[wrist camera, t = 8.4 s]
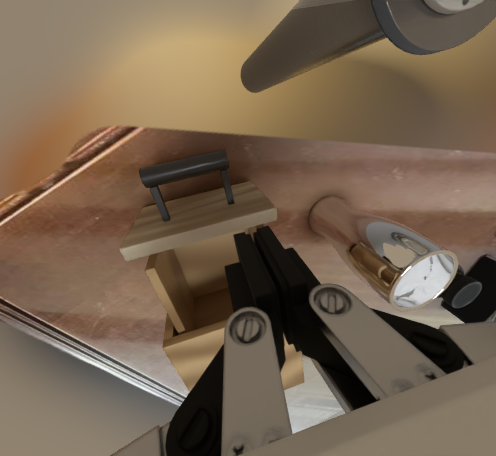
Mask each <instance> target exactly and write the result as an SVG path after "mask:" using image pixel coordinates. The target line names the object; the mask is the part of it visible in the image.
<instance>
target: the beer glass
mask: <svg viewBox="0 0 496 456" xmlns="http://www.w3.org/2000/svg"><path fill="white" fill-rule="evenodd" d="M309 225H310V228H311V229H312V230H313V231H314V232H315V233H317V234H318V235H320V236H322V237H324V238H326V239H327V240H328V241H329V242H330V243H331V244H332V245H333V247H334V248H335V250H336V251H337V252H338V254H339V255H340V257H341V258H342V259H343V261H344V262H345V263H346V265H347V266H348V267H349V268H350V270H351V271H352V272H353V273H354V274H355V275H356V276H357V277H358V278H359V279H360V280H361V281H362V282H364V283H365V284H366V285H367V286H368V287H369V288H370V289H372V290H373V291H374V292H375V293H377V294H378V295H379V296H380V297H382V298H383V299H384V300H386V301H387V302H388V303H389V304H390V305H392V306H393V307H394V308H395V309H396V310H399V311H411V310H415V309H418V308H421V307H423V306H425V305H427V304H428V303H430V302H431V301H433V300H434V299H435V298H437V297H438V296H439V295H440V294H441V293H442V292H443V291H444V290H445V289H446V288H447V287H448V286H449V284H450V283H451V282H452V280H453V278H454V277H455V275H456V272H457V269H458V258H457V256H456V255H455V254H454V253H453V252H451V251H449V250H447V249H445V248H443V247H442V246H440V245H438V244H437V243H435V242H434V241H432V240H430V239H429V238H427V237H425V236H423V235H422V234H420V233H418V232H416V231H414V230H412V229H410V228H409V227H406V226H404V225H402V224H400V223H397V222H395V221H392V220H389V219H386V218H383V217H380V216H376V215H373V214H369V213H365V212H362V211H358V210H356V209H354V208H352V207H351V206H349V205H348V204H347V203H346V202H345V201H344V200H343V199H342V198H340V197H337V196H328V197H325V198H323V199H321V200H320V201H319V202H317V203H316V204H315V206H314V207H313V208H312V210H311V212H310V215H309Z"/></svg>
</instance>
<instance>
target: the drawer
mask: <svg viewBox="0 0 496 456" xmlns="http://www.w3.org/2000/svg"><path fill="white" fill-rule="evenodd" d="M227 169H229V162H228V158H227V154H226V151H225V150H219V151H215V152H210V153H206V154H201V155H197V156H193V157H188V158H184V159H179V160H175V161H170V162H166V163H161V164H157V165H153V166H148V167H144V168H140V169H139V174H140V178H141V180H142V182H143V184H144V186H145V187H146V188H149V187H150V190H151V193H152V195H153V198H154V200H155V202H156V204H155V205H151V206H147V207H143V208H142V210H141V212H140V214H139V215H138V217H137V219H136V221H135V222H134V224H133V226H132V228H131V229H130V231H129V233H128V235H127V237H126V238H125V240H124V242H123V244H122V245H121V247H120V249H119V250H120V252H121V253H122V255H123V257H124V259H125V260H126V261H130V260H133V259H137V258H141V257H144V256H148V255H150V256H149V259H148V262H147V265H146V268H145V272H146V274H147V276H148V278H149V280H150V281H151V283H152V285H153V287H154V289H155V291H156V293H157V294H158V296H159V298H160V300H161V302H162V304H163V306H164V308H165V309H166V311H167V313H168V315H169V317H170V319H171V321H172V322H173V324H174V326H175V328H176V330H177V332H178V334H179V335H181V334H184V333H187V332H190V331H193V330H196V329H199V328H202V327H205V326H209V325H212V324H215V323H218V322H221V321H224V320H227V319H228V318H229V317H230V316H231V315H232V314H233V313H234V312H233V307H232V302H231V297H230V292H229V287H228V283H227V278H226V273H225V268H224V266H226V265H230V264H233V263H237V262H239V258H238V254H237V250H236V245H235V241H234V236H233V235H234V234H238V233H242V232H245V234H250V235H251V237H252V239H253V241H254V237H253V233H254V232H257V231H256V229H257V228H261V227H264V226H263V224H264V223H268V222H272V221H275V220H278V216H277V208H276V207H275V206H274V205H273V204H272V202H271V201H270V200H269V199H268V198H267V197H266V196H265V195H264V194H263V193H262V192H261V191H260V190H259V189H258V188H257V187H256V186H255V185H254V184H253V183H252V182H251V181H248V182H244V183H240V184H236V185H232V186H231V185H230V180H229V176H228V171H227ZM217 171H220V173H221V177H222V182H223V186H224V188H220V189H216V190H212V191H208V192H204V193H200V194H196V195H192V196H188V197H184V198H180V199H176V200H172V201H167V202H164V200H163V197H162V195H161V192H160V189H159V187H158V185H162V184H166V183H170V182H175V181H179V180H183V179H187V178H191V177H196V176H200V175H204V174H208V173H212V172H217Z"/></svg>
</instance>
